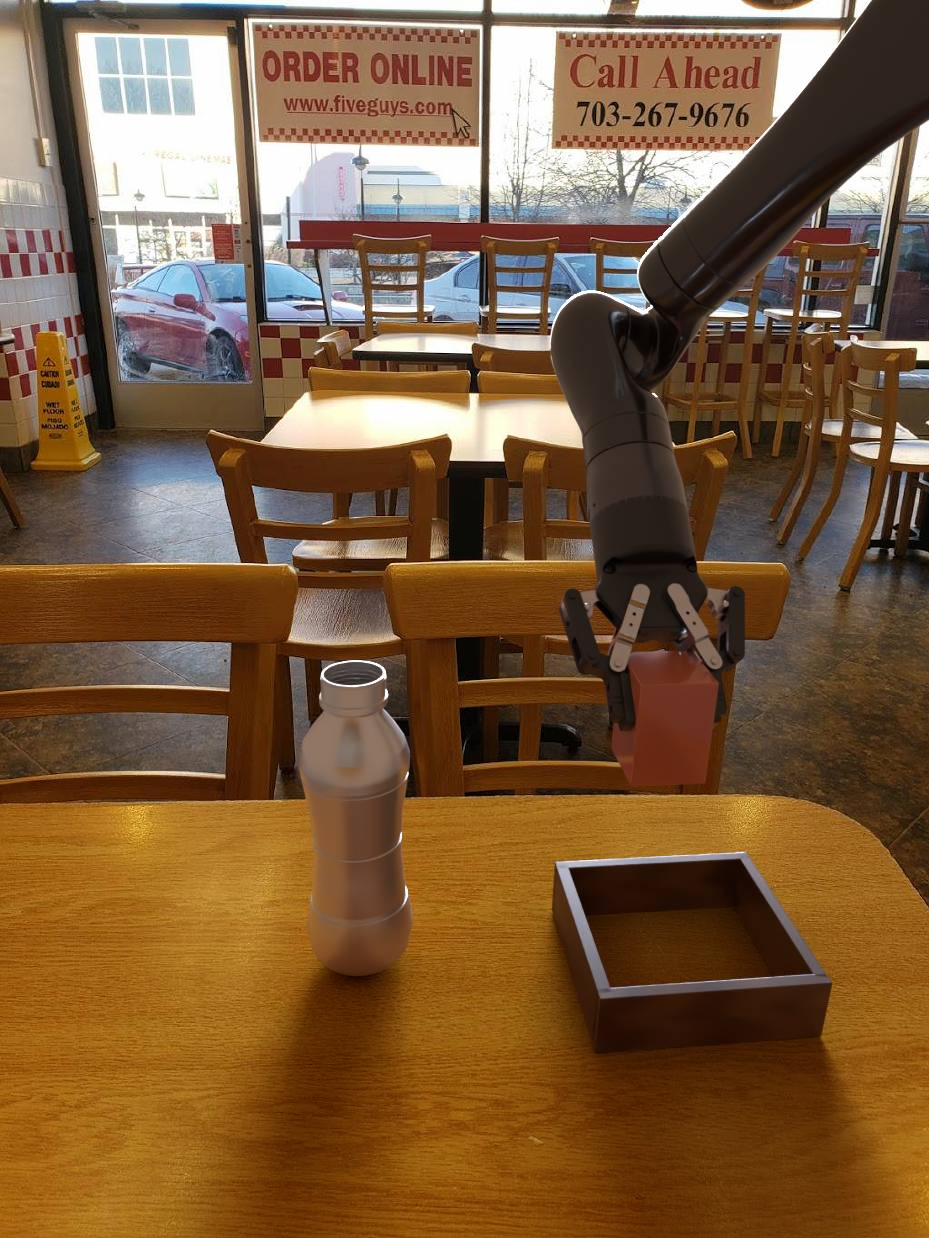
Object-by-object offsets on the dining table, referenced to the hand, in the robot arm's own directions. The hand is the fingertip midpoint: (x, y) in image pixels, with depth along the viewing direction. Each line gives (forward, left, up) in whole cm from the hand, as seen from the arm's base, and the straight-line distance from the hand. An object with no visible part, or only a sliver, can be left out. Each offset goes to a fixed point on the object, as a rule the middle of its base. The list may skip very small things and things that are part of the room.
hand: (670, 726), depth 66 cm
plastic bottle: (+22, +8, -12) cm, 26 cm away
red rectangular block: (0, -2, -4) cm, 5 cm away
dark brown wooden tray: (+2, +11, -12) cm, 16 cm away
